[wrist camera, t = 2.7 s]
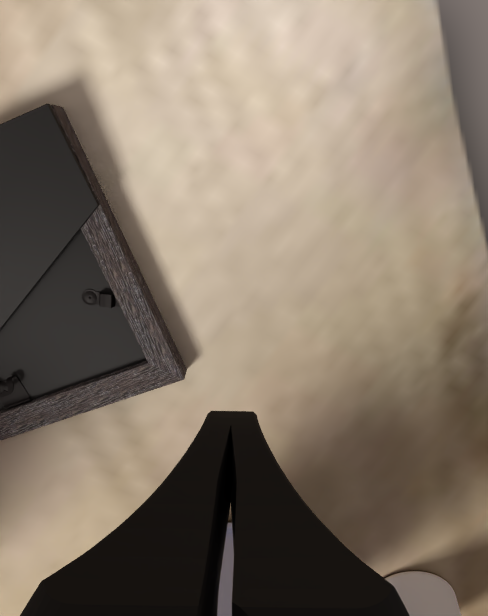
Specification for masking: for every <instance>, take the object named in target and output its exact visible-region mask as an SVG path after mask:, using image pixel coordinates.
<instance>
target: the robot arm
mask: <svg viewBox="0 0 488 616" xmlns="http://www.w3.org/2000/svg"><path fill="white" fill-rule="evenodd" d="M230 503H231V515H232V523H228V517H229V510H230ZM20 616H409V613H408V611H407V609H406V607H405V605H404V604H403V602H402V600H401V598H400V596H399V594H398V592H397V591H396V589H395V587H394V586H393V585H392V584H391V583H389V582H388V581H387V580H385V579H384V578H383V577H382V576H380V575H379V574H378V573H376V572H375V571H374V570H373V569H371V568H370V567H369V566H367V565H366V564H365V563H364V562H362V561H361V560H360V559H359V558H357V557H356V556H355V555H354V554H353V553H352V552H351V551H350V550H349V549H348V548H346V547H345V546H344V545H343V544H342V543H341V542H340V541H339V540H338V539H337V538H336V537H335V536H334V535H333V534H332V532H331V531H330V530H329V529H328V528H327V527H326V526H325V525H324V524H323V523H322V522H321V521H320V520H319V519H318V518H317V517H316V515H315V514H314V513H313V512H312V511H311V510H310V508H309V507H308V506H307V505H306V503H305V502H304V501H303V500H302V498H301V497H300V496H299V494H298V493H297V492H296V490H295V489H294V488H293V486H292V485H291V483H290V482H289V480H288V479H287V477H286V476H285V474H284V473H283V471H282V469H281V468H280V466H279V464H278V463H277V461H276V459H275V457H274V455H273V454H272V452H271V450H270V448H269V446H268V444H267V442H266V440H265V438H264V435H263V433H262V431H261V428H260V425H259V423H258V419H257V415H256V414H255V413H254V412H246V411H211V412H210V413H208V414H207V417H206V419H205V421H204V423H203V425H202V427H201V429H200V431H199V432H198V434H197V436H196V437H195V439H194V441H193V442H192V444H191V445H190V447H189V448H188V450H187V451H186V453H185V454H184V456H183V457H182V458H181V460H180V461H179V462H178V464H177V465H176V466H175V468H174V469H173V470H172V472H171V473H170V474H169V475H168V477H167V478H166V479H165V480H164V481H163V483H162V484H161V485H160V486H159V487H158V488H157V489H156V491H155V492H154V493H153V494H152V495H151V496H150V497H149V498H148V499H147V500H146V501H145V502H144V503H143V504H142V505H141V506H140V507H139V508H138V509H137V510H136V511H135V512H134V513H133V514H132V515H131V516H130V517H129V518H128V519H126V520H125V521H124V522H123V523H122V524H121V525H120V526H119V527H117V528H116V529H115V530H114V531H112V532H111V533H110V534H109V535H107V536H106V537H105V538H104V539H102V540H101V541H100V542H99V543H97V544H96V545H95V546H94V547H92V548H91V549H90V550H88V551H87V552H86V553H84V554H83V555H81V556H80V557H78V558H77V559H75V560H74V561H72V562H71V563H69V564H68V565H66V566H65V567H63V568H61V569H60V570H58V571H57V572H55V573H54V574H52V575H51V576H49V577H47V578H46V579H44V580H43V581H41V583H40V584H39V586H38V588H37V589H36V591H35V592H34V594H33V596H32V597H31V599H30V600H29V602H28V603H27V605H26V607H25V608H24V610H23V612H22V613H21V615H20Z"/></svg>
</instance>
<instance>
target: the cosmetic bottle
mask: <svg viewBox="0 0 488 616" xmlns="http://www.w3.org/2000/svg"><path fill="white" fill-rule="evenodd" d="M384 579H385V580H387V581H388V582H389V583H391V584H392V585H393V586H394V587H395V589H396V591H397V592H398V594H399V596H400V598H401V600H402V602H403V604H404V605H405V607H406V609H407V611H408V613H409V616H461V613H460V609H459V605H458V602H457V598H456V595H455V592H454V590H453V588H452V587H451V586H450V584H449V583H448V582H447V581H445V580H444V579H442V578H441V577H439V576H437V575H434V574H431V573H427V572H421V571H407V572H401V573H397V574H394V575H391V576H389V577H386V578H384Z"/></svg>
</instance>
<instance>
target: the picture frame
mask: <svg viewBox="0 0 488 616" xmlns="http://www.w3.org/2000/svg"><path fill="white" fill-rule="evenodd" d="M186 370H187V369H186V367H185V365H184V362H183V360H182V358H181V356H180V354H179V352H178V350H177V348H176V346H175V343H174V341H173V339H172V337H171V335H170V333H169V331H168V329H167V327H166V324H165V322H164V320H163V318H162V316H161V314H160V312H159V310H158V307H157V305H156V303H155V301H154V299H153V297H152V295H151V293H150V291H149V288H148V286H147V284H146V282H145V280H144V278H143V276H142V274H141V272H140V269H139V267H138V265H137V263H136V261H135V259H134V257H133V255H132V253H131V250H130V248H129V246H128V244H127V242H126V240H125V238H124V236H123V234H122V231H121V229H120V227H119V225H118V223H117V221H116V219H115V217H114V214H113V212H112V210H111V208H110V206H109V204H108V202H107V200H106V198H105V195H104V193H103V191H102V189H101V187H100V185H99V183H98V181H97V179H96V176H95V174H94V172H93V170H92V168H91V166H90V164H89V162H88V160H87V157H86V155H85V153H84V151H83V149H82V147H81V145H80V143H79V141H78V138H77V136H76V134H75V132H74V130H73V128H72V126H71V124H70V121H69V119H68V117H67V115H66V113H65V111H64V109H63V107H60V106H56V105H50V104H46V105H43V106H41V107H39V108H36V109H34V110H32V111H30V112H27V113H25V114H23V115H21V116H18V117H16V118H14V119H12V120H9V121H7V122H5V123H2V124H0V440H3V439H6V438H9V437H12V436H15V435H18V434H21V433H24V432H27V431H30V430H33V429H36V428H39V427H42V426H45V425H48V424H51V423H54V422H57V421H60V420H63V419H66V418H69V417H72V416H75V415H78V414H81V413H84V412H87V411H90V410H93V409H96V408H99V407H102V406H105V405H108V404H111V403H114V402H117V401H120V400H123V399H126V398H129V397H132V396H135V395H138V394H141V393H144V392H147V391H151V390H154V389H157V388H160V387H163V386H166V385H169V384H172V383H175V382H178V381H181V380H184V378H185V374H186Z"/></svg>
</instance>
